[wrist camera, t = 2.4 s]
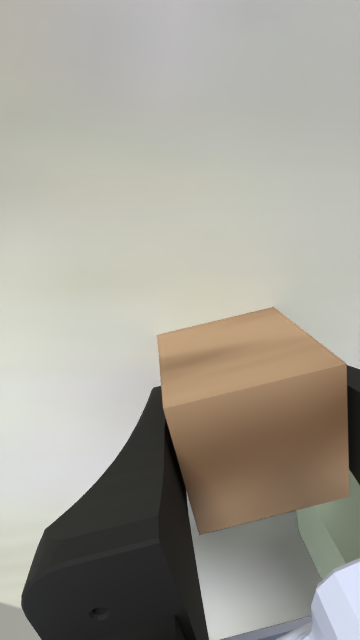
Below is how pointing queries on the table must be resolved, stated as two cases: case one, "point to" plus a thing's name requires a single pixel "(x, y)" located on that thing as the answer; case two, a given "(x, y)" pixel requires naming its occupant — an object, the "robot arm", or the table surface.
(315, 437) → the walnut cube
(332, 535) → the sage cube
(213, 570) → the table surface
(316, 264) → the table surface
